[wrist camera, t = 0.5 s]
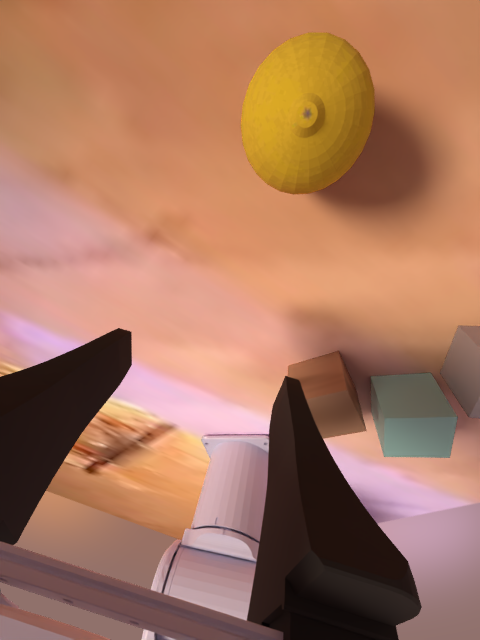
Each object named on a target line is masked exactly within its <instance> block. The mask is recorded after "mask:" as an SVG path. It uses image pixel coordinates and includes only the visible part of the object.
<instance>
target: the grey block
mask: <svg viewBox="0 0 480 640" xmlns="http://www.w3.org/2000/svg"><path fill="white" fill-rule="evenodd" d="M440 374H441V375H442V377H443V379H444V380H445V382H446V383H447V385H448V386H449V388H450V389H451V391H452V392H453V394H454V395H455V397H456V398H457V400H458V402H459V403H460V405H461V406H462V408H463V409H464V411H465V412H466V414H467V415H468V417H470V418H480V326H458V328H457V331H456V333H455V336H454V338H453V341H452V343H451V346H450V348H449V351H448V353H447V356H446V358H445V361H444V363H443V366H442V369H441V371H440Z"/></svg>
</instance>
